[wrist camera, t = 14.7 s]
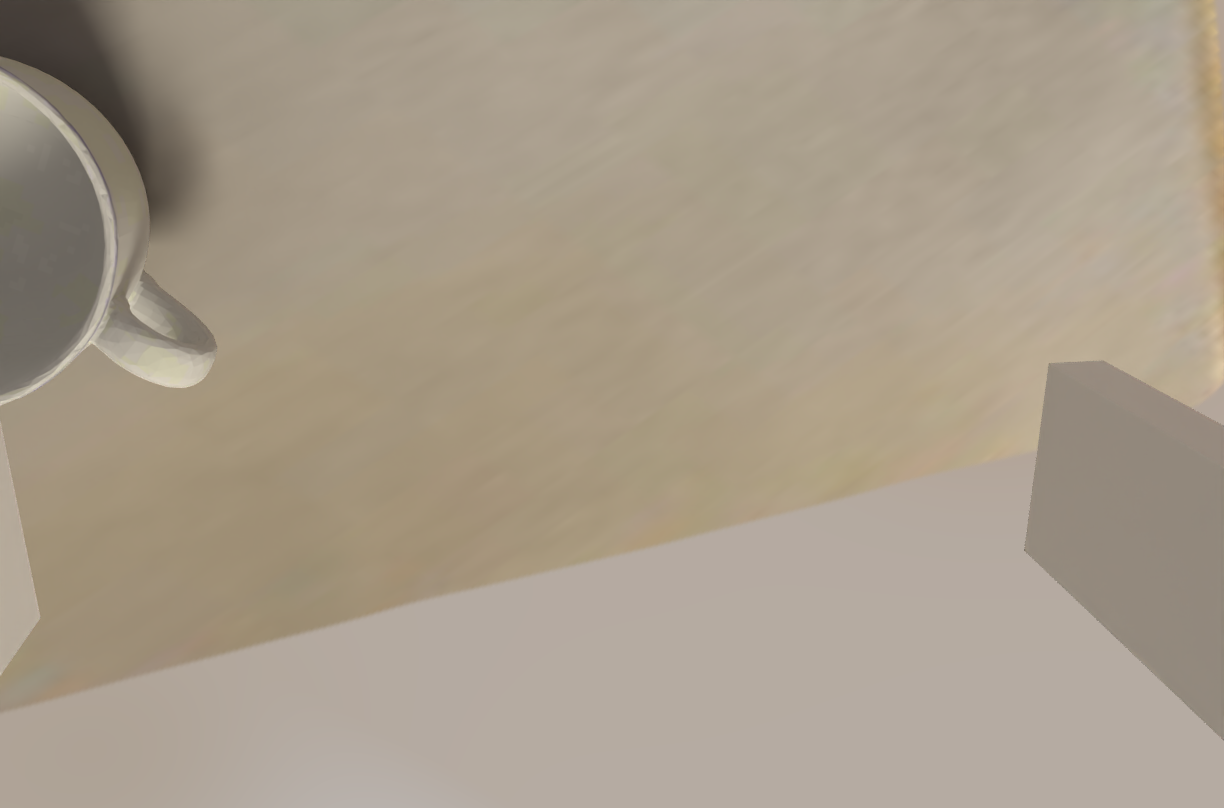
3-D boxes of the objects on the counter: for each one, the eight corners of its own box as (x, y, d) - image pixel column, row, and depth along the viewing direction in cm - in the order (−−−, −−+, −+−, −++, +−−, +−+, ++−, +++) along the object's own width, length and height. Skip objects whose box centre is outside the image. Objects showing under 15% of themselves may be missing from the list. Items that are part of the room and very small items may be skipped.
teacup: (-216, 199, 38) (-380, 245, 31) (-21, -38, 37) (-144, -51, 29) (124, 452, 43) (53, 545, 35) (311, 251, 41) (278, 304, 34)
